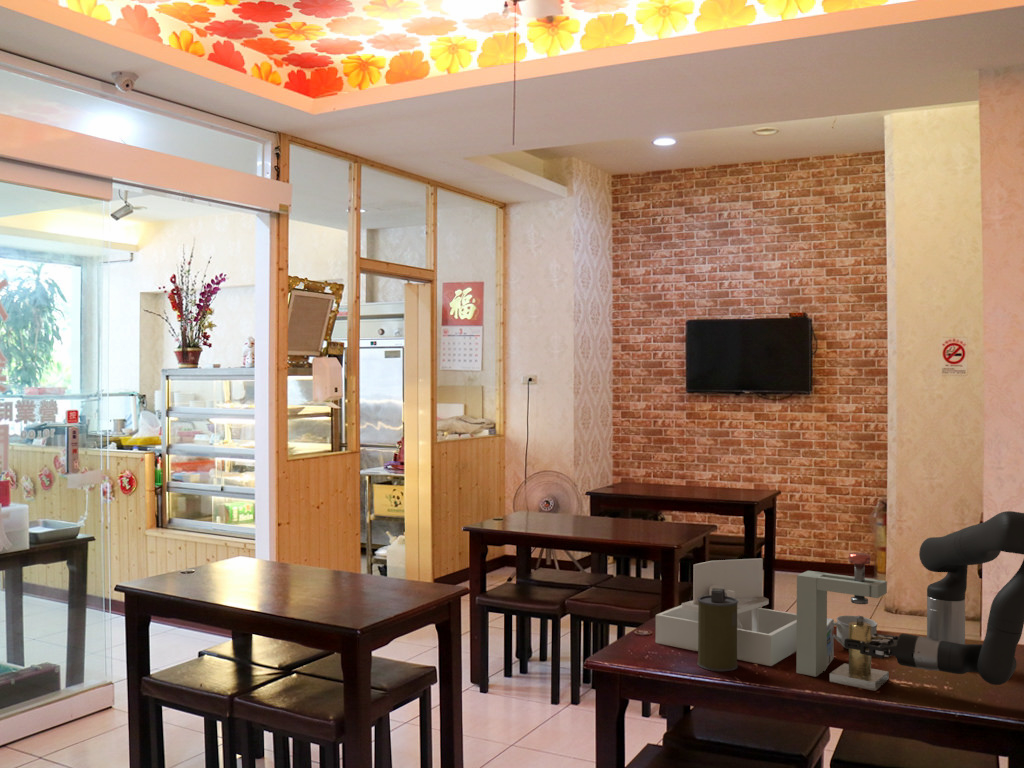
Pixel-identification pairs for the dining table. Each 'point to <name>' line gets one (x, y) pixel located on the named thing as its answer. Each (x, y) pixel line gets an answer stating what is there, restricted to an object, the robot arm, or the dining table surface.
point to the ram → (859, 573)
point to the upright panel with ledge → (732, 587)
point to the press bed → (859, 678)
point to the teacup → (844, 627)
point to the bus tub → (751, 646)
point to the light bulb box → (830, 640)
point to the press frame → (822, 614)
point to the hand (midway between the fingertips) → (849, 640)
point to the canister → (717, 631)
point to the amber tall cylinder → (858, 661)
